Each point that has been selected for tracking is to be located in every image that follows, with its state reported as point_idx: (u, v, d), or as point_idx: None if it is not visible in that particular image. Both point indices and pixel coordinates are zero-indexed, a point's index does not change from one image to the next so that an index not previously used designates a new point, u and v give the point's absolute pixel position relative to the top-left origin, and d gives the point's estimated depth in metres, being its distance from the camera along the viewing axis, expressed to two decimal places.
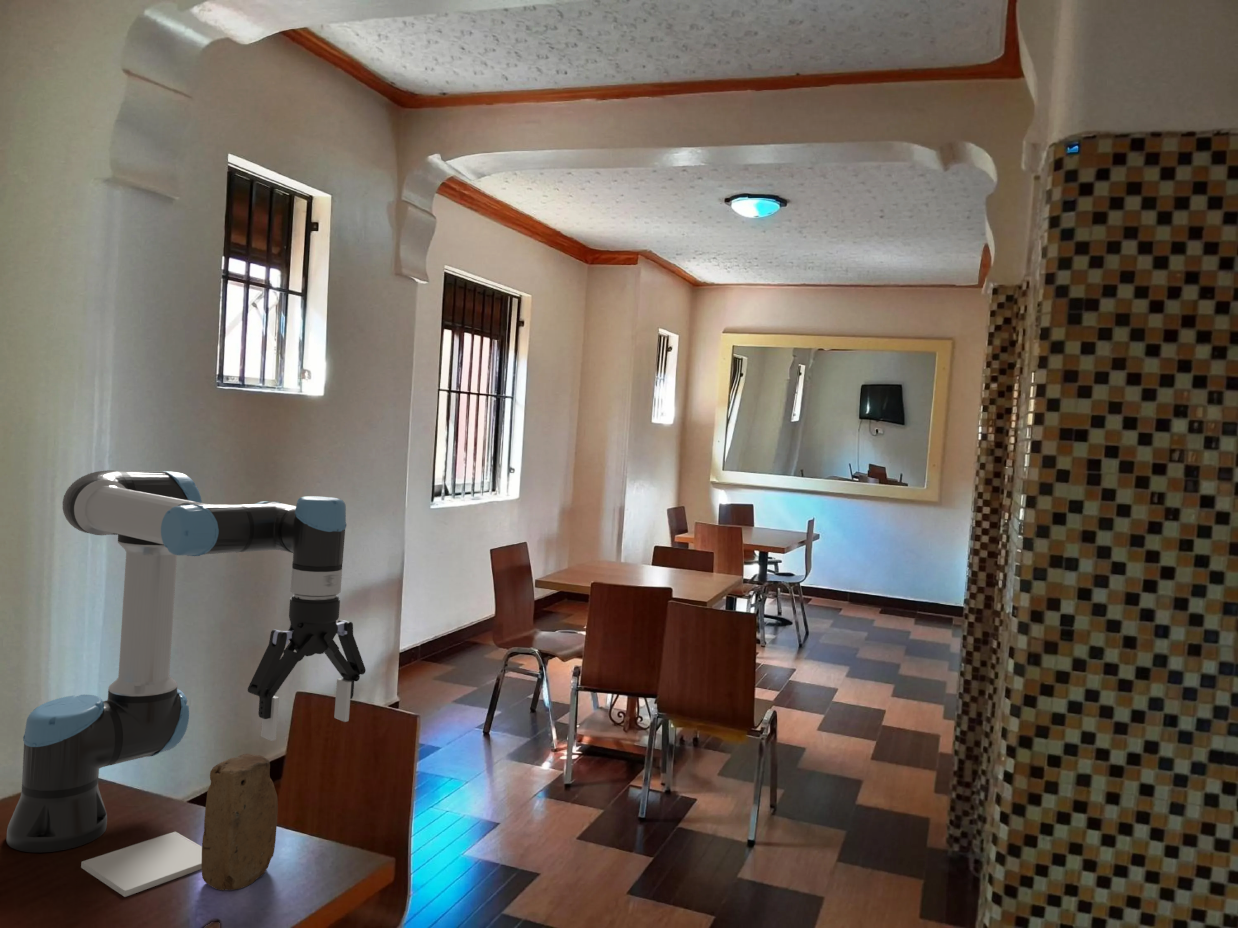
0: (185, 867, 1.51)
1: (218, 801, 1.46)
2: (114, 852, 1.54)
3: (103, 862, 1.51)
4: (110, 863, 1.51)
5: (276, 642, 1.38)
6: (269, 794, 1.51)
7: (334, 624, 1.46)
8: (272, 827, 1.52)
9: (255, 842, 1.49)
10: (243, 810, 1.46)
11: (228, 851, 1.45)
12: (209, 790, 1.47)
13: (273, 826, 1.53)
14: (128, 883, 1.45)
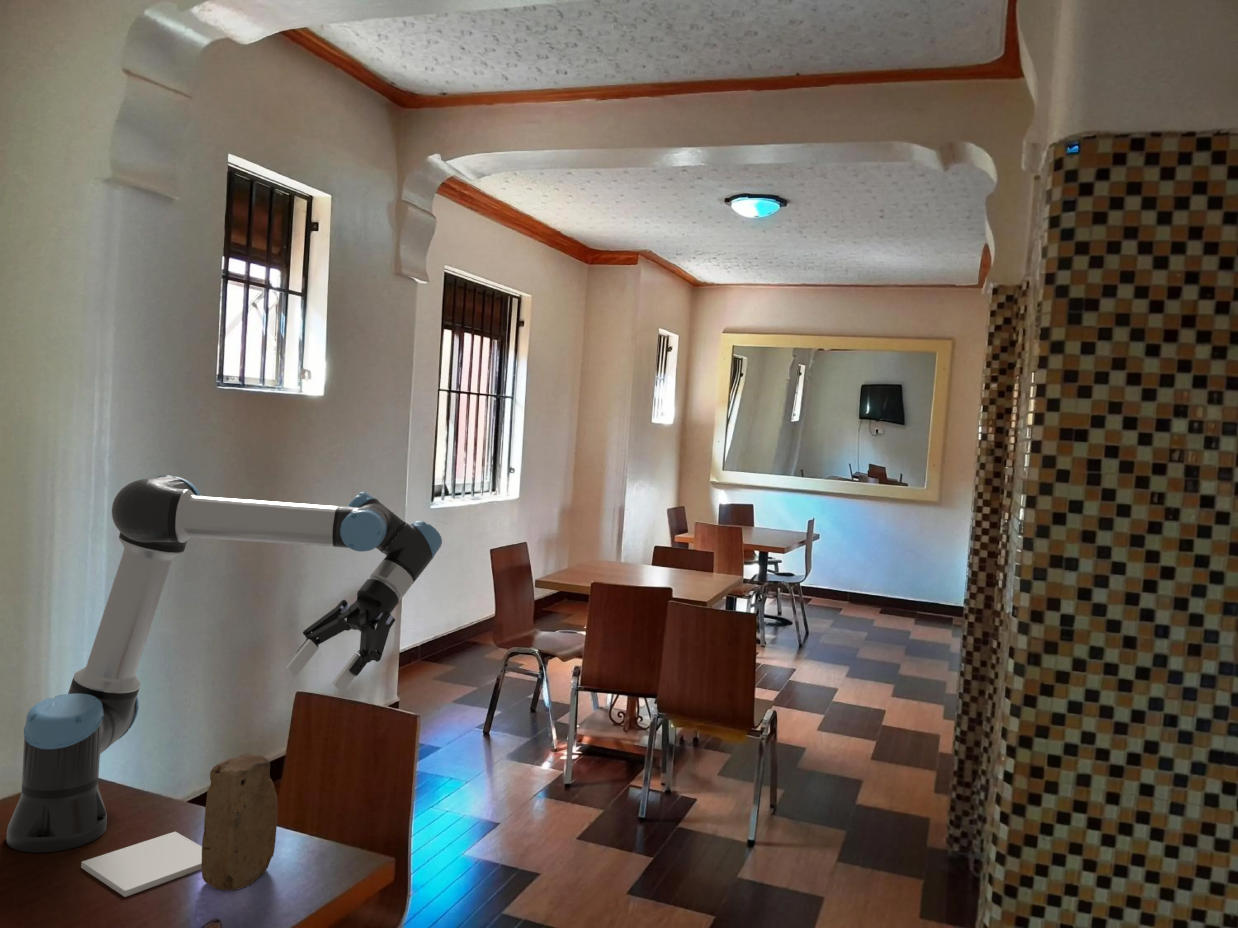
0: (185, 867, 1.51)
1: (218, 801, 1.46)
2: (114, 852, 1.54)
3: (103, 862, 1.51)
4: (110, 863, 1.51)
5: (389, 623, 1.70)
6: (269, 794, 1.51)
7: None
8: (272, 827, 1.52)
9: (255, 842, 1.49)
10: (243, 810, 1.46)
11: (228, 851, 1.45)
12: (209, 790, 1.47)
13: (273, 826, 1.53)
14: (128, 883, 1.45)
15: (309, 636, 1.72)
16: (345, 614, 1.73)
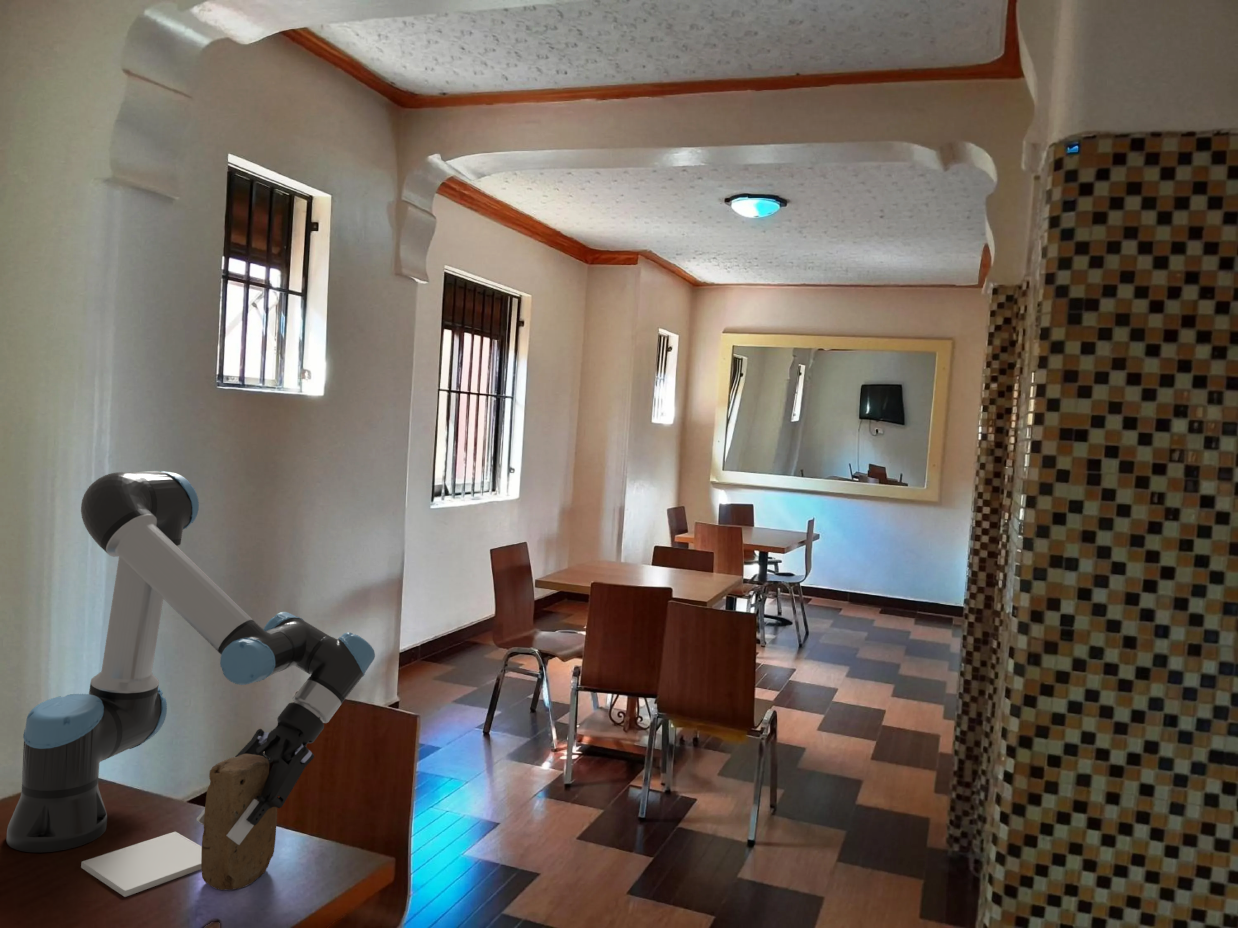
0: (185, 867, 1.51)
1: (218, 801, 1.46)
2: (114, 852, 1.54)
3: (103, 862, 1.51)
4: (110, 863, 1.51)
5: (305, 761, 1.52)
6: None
7: None
8: (271, 826, 1.52)
9: (254, 842, 1.49)
10: (242, 810, 1.46)
11: (227, 851, 1.45)
12: (208, 790, 1.47)
13: (273, 826, 1.53)
14: (128, 883, 1.45)
15: None
16: (264, 746, 1.55)
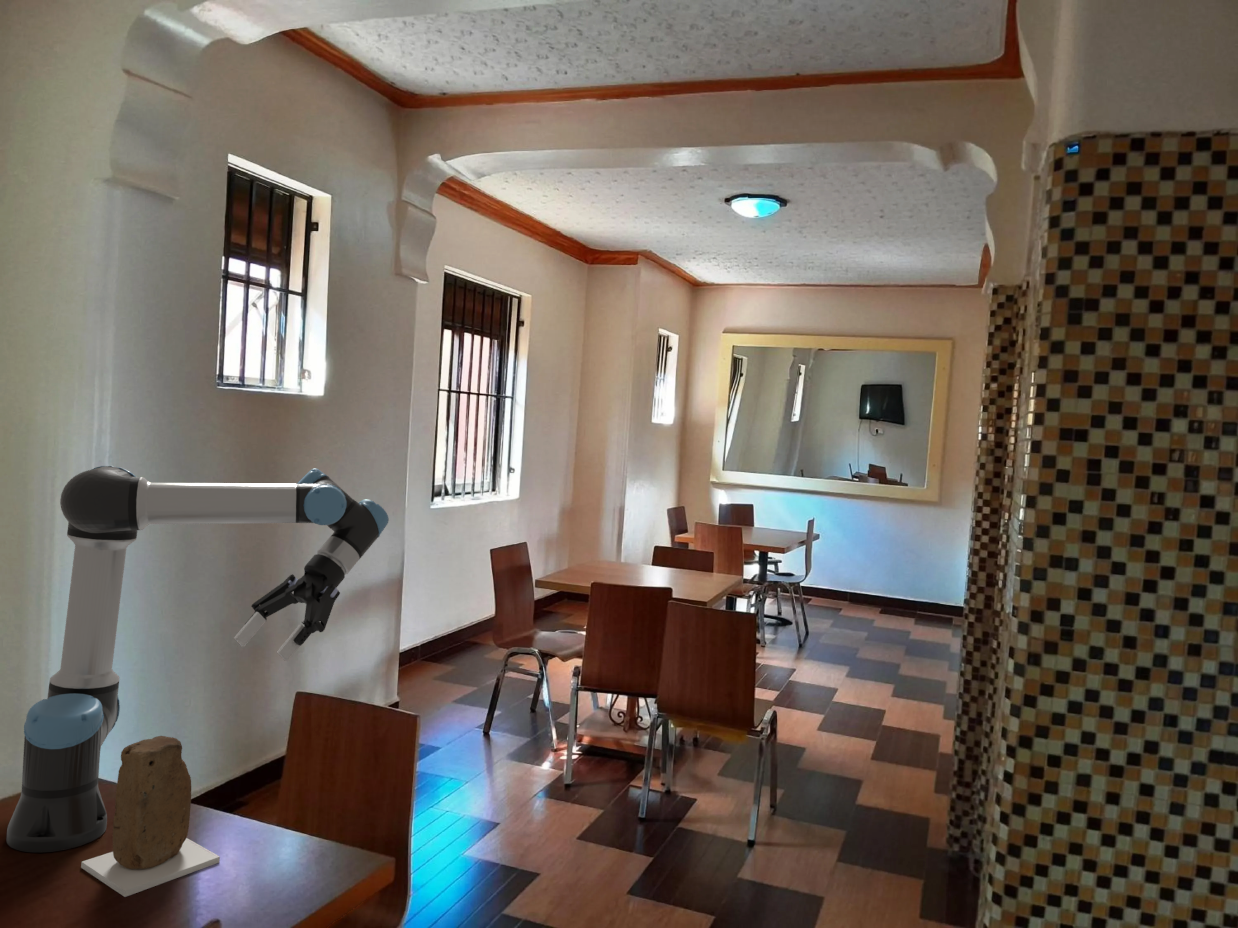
0: (185, 867, 1.51)
1: (127, 781, 1.48)
2: None
3: (103, 862, 1.51)
4: (110, 863, 1.51)
5: (334, 596, 1.76)
6: (181, 776, 1.53)
7: None
8: (184, 808, 1.54)
9: (165, 822, 1.51)
10: (151, 790, 1.49)
11: (135, 830, 1.47)
12: (120, 770, 1.50)
13: (186, 807, 1.55)
14: (128, 883, 1.45)
15: (257, 609, 1.79)
16: (292, 588, 1.79)
